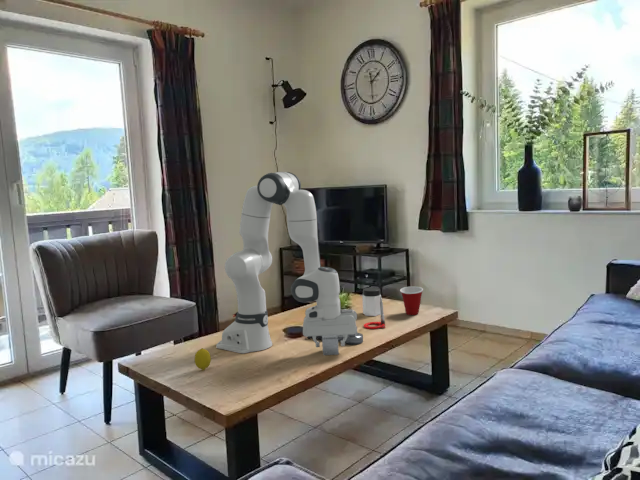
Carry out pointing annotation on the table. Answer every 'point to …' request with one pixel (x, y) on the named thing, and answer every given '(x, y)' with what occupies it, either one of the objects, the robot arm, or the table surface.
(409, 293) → the plastic cup
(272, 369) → the table surface
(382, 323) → the tow hook
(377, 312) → the jar
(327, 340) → the grey wooden cube
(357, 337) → the ratchet
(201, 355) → the lemon
